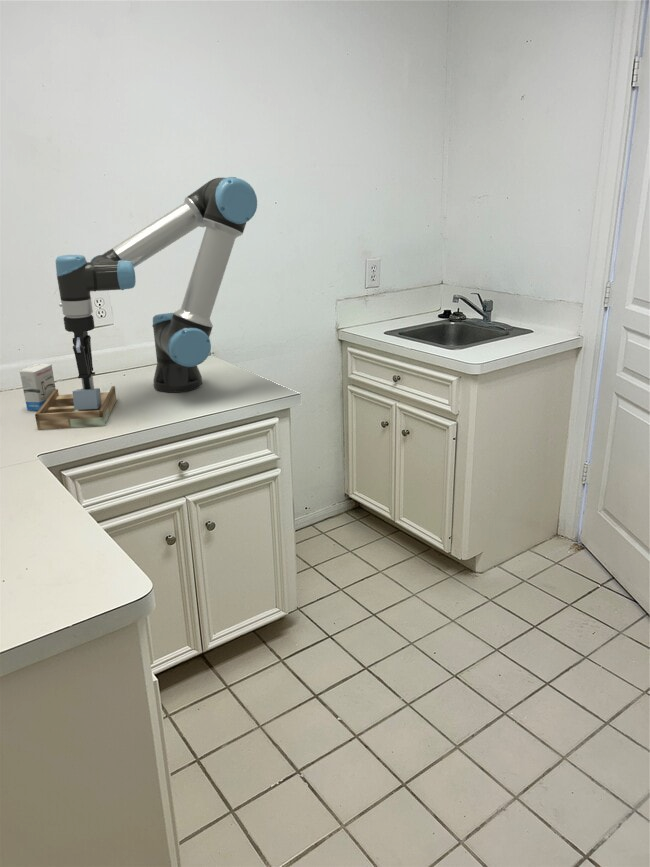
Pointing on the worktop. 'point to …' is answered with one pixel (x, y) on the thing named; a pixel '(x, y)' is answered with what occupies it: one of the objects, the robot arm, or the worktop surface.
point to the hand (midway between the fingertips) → (90, 399)
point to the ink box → (37, 384)
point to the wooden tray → (73, 412)
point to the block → (87, 399)
